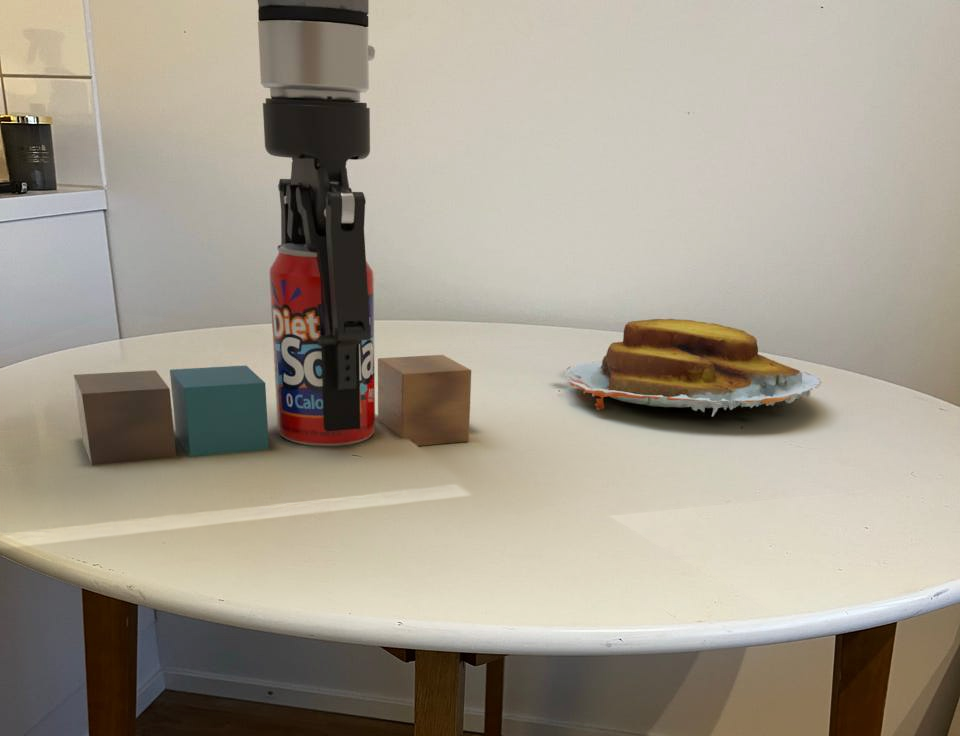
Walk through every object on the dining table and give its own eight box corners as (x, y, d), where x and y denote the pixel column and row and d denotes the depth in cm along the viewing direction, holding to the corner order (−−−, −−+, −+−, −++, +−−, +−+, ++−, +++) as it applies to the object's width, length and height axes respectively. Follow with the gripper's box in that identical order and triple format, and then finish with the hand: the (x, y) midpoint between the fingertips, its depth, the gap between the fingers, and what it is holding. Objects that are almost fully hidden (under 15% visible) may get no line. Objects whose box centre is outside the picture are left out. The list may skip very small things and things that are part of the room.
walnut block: (93, 476, 74) (81, 393, 71) (84, 452, 79) (73, 374, 76) (177, 468, 76) (169, 388, 73) (164, 446, 81) (156, 370, 78)
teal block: (191, 467, 77) (183, 387, 74) (176, 445, 81) (169, 369, 79) (269, 460, 79) (265, 382, 76) (251, 438, 84) (246, 365, 81)
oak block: (402, 447, 83) (402, 374, 80) (377, 428, 88) (377, 358, 85) (469, 441, 85) (471, 369, 83) (441, 423, 90) (443, 354, 88)
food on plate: (593, 434, 89) (600, 358, 86) (537, 371, 111) (541, 308, 108) (864, 433, 93) (880, 360, 90) (758, 371, 114) (768, 311, 111)
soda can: (353, 423, 88) (350, 239, 81) (390, 448, 82) (390, 251, 75) (265, 432, 85) (254, 240, 78) (297, 459, 79) (287, 253, 72)
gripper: (419, 99, 65) (415, 446, 76) (324, 97, 82) (331, 382, 92) (305, 94, 62) (318, 455, 73) (230, 93, 79) (249, 387, 89)
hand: (325, 414), depth 82 cm, fingers closed on soda can, 8 cm apart
